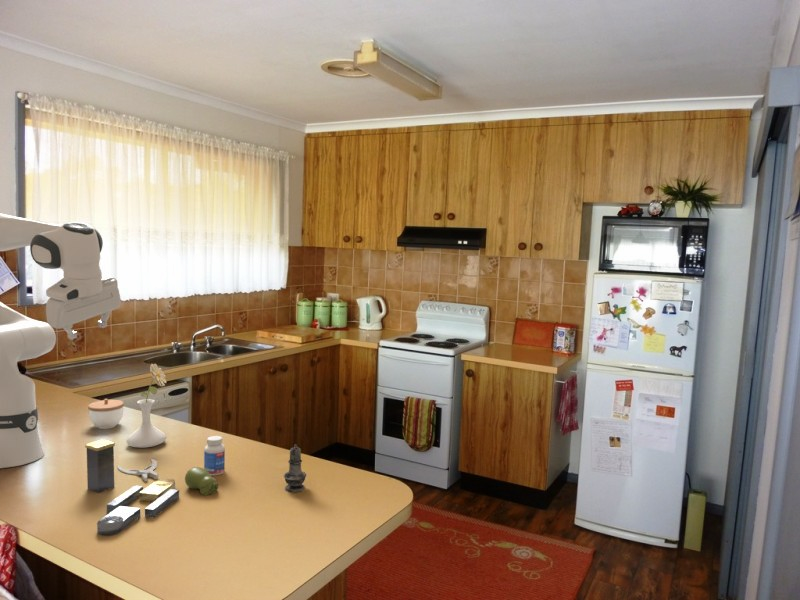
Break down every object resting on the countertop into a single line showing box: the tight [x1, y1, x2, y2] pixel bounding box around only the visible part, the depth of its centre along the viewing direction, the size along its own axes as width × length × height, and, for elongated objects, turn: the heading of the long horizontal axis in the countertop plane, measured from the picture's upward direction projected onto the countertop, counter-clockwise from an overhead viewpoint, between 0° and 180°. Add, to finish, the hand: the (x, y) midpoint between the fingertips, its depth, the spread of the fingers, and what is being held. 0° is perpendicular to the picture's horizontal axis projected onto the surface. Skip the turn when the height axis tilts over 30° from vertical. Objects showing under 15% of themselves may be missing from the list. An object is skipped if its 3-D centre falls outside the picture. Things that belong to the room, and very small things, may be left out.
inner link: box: [138, 477, 176, 503], centre depth 148 cm, size 10×5×2 cm, turn 171°
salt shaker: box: [283, 443, 307, 494], centre depth 153 cm, size 6×6×12 cm
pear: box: [184, 466, 219, 497], centre depth 151 cm, size 6×5×10 cm
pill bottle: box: [203, 435, 226, 477], centre depth 162 cm, size 6×5×10 cm
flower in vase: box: [126, 363, 167, 449], centre depth 181 cm, size 13×11×25 cm
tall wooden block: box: [84, 438, 116, 494], centre depth 150 cm, size 5×5×12 cm
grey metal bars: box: [96, 485, 180, 537], centre depth 137 cm, size 21×12×2 cm, turn 171°
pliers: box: [116, 458, 159, 482], centre depth 161 cm, size 10×2×15 cm
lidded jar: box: [87, 398, 125, 430], centre depth 198 cm, size 11×11×9 cm
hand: (88, 332), depth 159 cm, fingers open, 8 cm apart
